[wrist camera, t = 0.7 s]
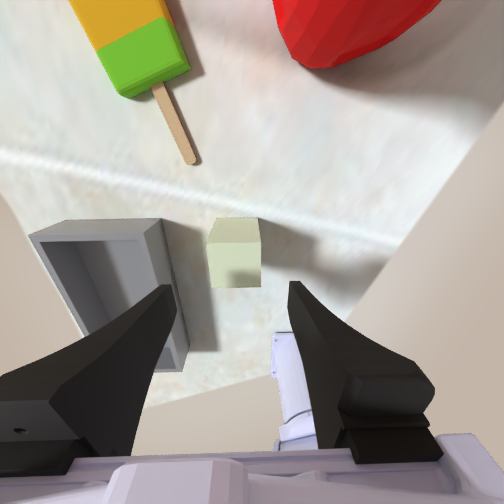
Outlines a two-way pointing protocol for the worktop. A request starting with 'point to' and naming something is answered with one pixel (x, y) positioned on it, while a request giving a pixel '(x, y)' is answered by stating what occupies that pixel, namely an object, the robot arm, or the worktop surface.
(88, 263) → the bin
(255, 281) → the sage block
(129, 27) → the popsicle
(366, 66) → the worktop surface
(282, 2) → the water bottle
